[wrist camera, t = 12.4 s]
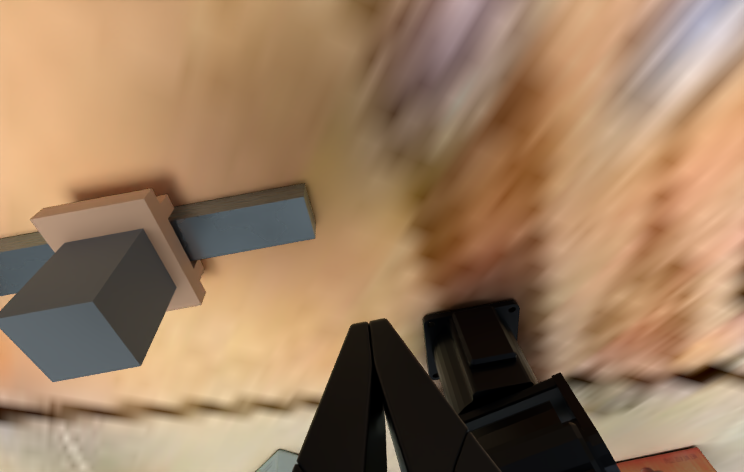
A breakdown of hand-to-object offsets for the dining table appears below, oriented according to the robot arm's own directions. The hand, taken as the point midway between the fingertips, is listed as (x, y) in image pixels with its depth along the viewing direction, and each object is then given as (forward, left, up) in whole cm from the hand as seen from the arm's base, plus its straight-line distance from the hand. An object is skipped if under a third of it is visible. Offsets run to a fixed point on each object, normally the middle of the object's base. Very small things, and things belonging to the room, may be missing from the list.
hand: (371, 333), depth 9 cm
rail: (-3, +11, -12) cm, 17 cm away
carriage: (-3, +11, -12) cm, 17 cm away
